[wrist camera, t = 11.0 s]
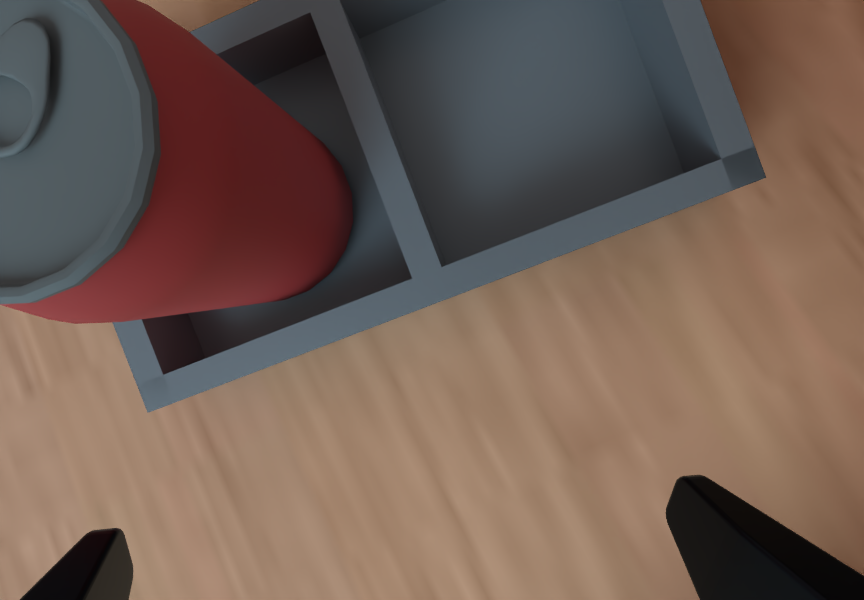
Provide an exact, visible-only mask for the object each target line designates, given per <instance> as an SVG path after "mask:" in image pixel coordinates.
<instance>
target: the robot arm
mask: <svg viewBox="0 0 864 600" xmlns="http://www.w3.org/2000/svg"><path fill="white" fill-rule="evenodd" d="M666 519H667V523H668V525H669V528H670V530H671V533H672V535H673V537H674V540H675V542H676V544H677V547H678V549H679V551H680V554H681V556H682V559H683V561H684V563H685V566H686V568H687V570H688V573H689V575H690V577H691V580H692V582H693V585H694V587H695V589H696V592H697V594H698V596H699V598H700V600H864V576H863V575H862V574H860V573H858V572H857V571H855V570H854V569H852V568H850V567H849V566H847V565H846V564H844V563H842V562H841V561H839V560H838V559H836V558H835V557H833V556H831V555H830V554H828V553H827V552H825V551H823V550H822V549H820V548H819V547H817V546H815V545H814V544H812V543H811V542H809V541H807V540H806V539H804V538H803V537H801V536H799V535H798V534H796V533H795V532H793V531H791V530H790V529H788V528H787V527H785V526H784V525H782V524H780V523H779V522H777V521H776V520H774V519H772V518H771V517H769V516H768V515H766V514H764V513H763V512H761V511H760V510H758V509H756V508H755V507H753V506H752V505H750V504H748V503H747V502H745V501H744V500H742V499H740V498H739V497H737V496H736V495H734V494H733V493H731V492H729V491H728V490H726V489H725V488H723V487H721V486H720V485H718V484H717V483H715V482H713V481H712V480H710V479H709V478H707V477H705V476H702V475H691V476H682V477H680V478H679V479H678V480H677V481H676V483H675V486H674V488H673V491H672V494H671V497H670V499H669V502H668V505H667V508H666ZM132 580H133V564H132V560H131V556H130V553H129V549H128V546H127V542H126V539H125V535H124V533H123V531H122V530H121V529H119V528H112V529H101V530H93V531H91V532H89V533H87V534H86V535H85V536H83V537H82V538H81V539H80V540H79V541H78V542H77V543H76V544H75V545H74V546H73V547H72V548H71V549H70V550H69V551H68V552H67V553H66V554H65V555H64V556H63V557H62V558H61V559H60V560H59V561H58V562H57V563H56V564H55V565H54V566H53V567H52V568H51V569H50V570H49V571H48V572H47V573H46V574H45V575H44V576H43V577H42V578H41V579H40V580H39V581H38V582H37V583H36V584H35V585H34V586H33V587H32V588H31V589H30V590H29V591H28V592H27V593H26V594H25V595H24V596H23V597H22V598H21V599H20V600H129V595H130V590H131V585H132Z"/></svg>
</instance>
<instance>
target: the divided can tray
mask: <svg viewBox="0 0 864 600" xmlns="http://www.w3.org/2000/svg"><path fill="white" fill-rule="evenodd" d="M190 33H191V34H192V35H194V36H195V37H196V38H197V39H198V40H200V41H201V42H202V43H203V44H204V45H206V46H207V47H208V48H209V49H210V50H212V51H213V52H214V53H215V54H216V55H218V56H219V57H220V58H221V59H223V60H224V61H225V62H226V63H227V64H229V65H230V66H231V67H232V68H233V69H235V70H236V71H237V72H238V73H239V74H241V75H242V76H243V77H244V78H245V79H247V80H248V81H249V82H250V83H252V84H253V85H254V86H255V87H256V88H258V89H259V90H260V91H261V92H262V93H264V94H265V95H266V96H267V97H268V98H270V99H271V100H272V101H273V102H274V103H276V104H277V105H278V106H279V107H281V108H282V109H283V110H284V111H285V112H287V113H288V114H289V115H290V116H291V117H293V118H294V119H295V120H296V121H297V122H299V123H300V124H301V125H302V126H303V127H305V128H306V129H307V130H308V131H310V132H311V133H312V134H313V135H314V136H316V137H317V138H318V139H319V140H320V141H322V142H323V143H324V144H325V145H326V147H327V148H328V149H329V150H330V152H331V153H332V154H333V155H334V157H335V158H336V159H337V161H338V162H339V163H340V164H341V166H342V168H343V171H344V173H345V176H346V179H347V181H348V184H349V187H350V189H351V192H352V208H353V224H352V228H351V232H350V235H349V239H348V243H347V247H346V250H345V251H344V253H343V254H342V256H341V258H340V259H339V261H338V262H337V264H336V265H335V267H334V269H333V270H332V272H331V273H330V274H329V275H328V276H326V277H325V278H324V279H323V280H321V281H320V282H319V283H318V284H317V285H315V286H314V287H313V288H312V289H310V290H309V291H306V292H304V293H301V294H299V295H296V296H293V297H291V298H288V299H285V300H281V301H274V302H266V303H259V304H251V305H244V306H237V307H229V308H222V309H214V310H207V311H199V312H192V313H185V314H177V315H170V316H162V317H155V318H147V319H140V320H133V321H125V322H113V325H114V327H115V330H116V332H117V335H118V338H119V340H120V343H121V345H122V348H123V350H124V353H125V355H126V358H127V361H128V363H129V366H130V368H131V371H132V373H133V376H134V378H135V381H136V384H137V386H138V389H139V391H140V394H141V396H142V399H143V401H144V404H145V407H146V409H147V412H151V411H154V410H156V409H159V408H161V407H164V406H167V405H169V404H172V403H175V402H177V401H180V400H182V399H185V398H188V397H190V396H193V395H196V394H198V393H201V392H204V391H206V390H209V389H211V388H214V387H217V386H219V385H222V384H225V383H227V382H230V381H232V380H235V379H238V378H240V377H243V376H246V375H248V374H251V373H253V372H256V371H259V370H261V369H264V368H267V367H269V366H272V365H274V364H277V363H280V362H282V361H285V360H288V359H290V358H293V357H296V356H298V355H301V354H303V353H306V352H309V351H311V350H314V349H317V348H319V347H322V346H324V345H327V344H330V343H332V342H335V341H338V340H340V339H343V338H345V337H348V336H351V335H353V334H356V333H359V332H361V331H364V330H367V329H369V328H372V327H374V326H377V325H380V324H382V323H385V322H388V321H390V320H393V319H395V318H398V317H401V316H403V315H406V314H409V313H411V312H414V311H416V310H419V309H422V308H424V307H427V306H430V305H432V304H435V303H437V302H440V301H443V300H445V299H448V298H451V297H453V296H456V295H459V294H461V293H464V292H466V291H469V290H472V289H474V288H477V287H480V286H482V285H485V284H487V283H490V282H493V281H495V280H498V279H501V278H503V277H506V276H508V275H511V274H514V273H516V272H519V271H522V270H524V269H527V268H530V267H532V266H535V265H537V264H540V263H543V262H545V261H548V260H551V259H553V258H556V257H558V256H561V255H564V254H566V253H569V252H572V251H574V250H577V249H579V248H582V247H585V246H587V245H590V244H593V243H595V242H598V241H601V240H603V239H606V238H608V237H611V236H614V235H616V234H619V233H622V232H624V231H627V230H629V229H632V228H635V227H637V226H640V225H643V224H645V223H648V222H650V221H653V220H656V219H658V218H661V217H664V216H666V215H669V214H671V213H674V212H677V211H679V210H682V209H685V208H687V207H690V206H693V205H695V204H698V203H700V202H703V201H706V200H708V199H711V198H714V197H716V196H719V195H721V194H724V193H727V192H729V191H732V190H735V189H737V188H740V187H742V186H745V185H748V184H750V183H753V182H756V181H758V180H761V179H764V178H766V176H765V173H764V170H763V168H762V165H761V162H760V160H759V157H758V154H757V151H756V149H755V146H754V143H753V141H752V138H751V135H750V133H749V130H748V127H747V125H746V122H745V119H744V117H743V114H742V111H741V109H740V106H739V103H738V101H737V98H736V95H735V93H734V90H733V87H732V84H731V82H730V79H729V76H728V74H727V71H726V68H725V66H724V63H723V60H722V58H721V55H720V52H719V50H718V47H717V44H716V42H715V39H714V36H713V34H712V31H711V28H710V25H709V23H708V20H707V17H706V15H705V12H704V9H703V7H702V4H701V1H700V0H259V1H257V2H255V3H253V4H250V5H248V6H246V7H244V8H242V9H239V10H237V11H235V12H233V13H231V14H229V15H226V16H224V17H222V18H220V19H218V20H215V21H213V22H211V23H209V24H207V25H204V26H202V27H200V28H198V29H196V30H193V31H191V32H190Z"/></svg>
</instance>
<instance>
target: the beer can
mask: <svg viewBox="0 0 864 600" xmlns="http://www.w3.org/2000/svg"><path fill="white" fill-rule="evenodd" d="M352 224H353V208H352V192H351V189H350V187H349V184H348V181H347V179H346V176H345V173H344V171H343V168H342V166H341V164H340V163H339V162H338V161H337V159H336V158H335V157H334V155H333V154H332V153H331V152H330V150H329V149H328V148H327V147H326V145H325V144H324V143H323V142H322V141H320V140H319V139H318V138H317V137H316V136H314V135H313V134H312V133H311V132H310V131H308V130H307V129H306V128H305V127H303V126H302V125H301V124H300V123H299V122H297V121H296V120H295V119H294V118H293V117H291V116H290V115H289V114H288V113H287V112H285V111H284V110H283V109H282V108H281V107H279V106H278V105H277V104H276V103H274V102H273V101H272V100H271V99H270V98H268V97H267V96H266V95H265V94H264V93H262V92H261V91H260V90H259V89H258V88H256V87H255V86H254V85H253V84H252V83H250V82H249V81H248V80H247V79H245V78H244V77H243V76H242V75H241V74H239V73H238V72H237V71H236V70H235V69H233V68H232V67H231V66H230V65H229V64H227V63H226V62H225V61H224V60H223V59H221V58H220V57H219V56H218V55H216V54H215V53H214V52H213V51H212V50H210V49H209V48H208V47H207V46H206V45H204V44H203V43H202V42H201V41H200V40H198V39H197V38H196V37H195V36H194V35H192V34H191V33H190V32H188V31H187V30H185V29H184V28H182V27H181V26H179V25H177V24H176V23H174V22H173V21H171V20H170V19H168V18H167V17H165V16H164V15H162V14H161V13H159V12H158V11H156V10H155V9H153V8H152V7H150V6H149V5H146V4H144V3H142V2H139V1H137V0H0V305H3V306H6V307H10V308H13V309H16V310H20V311H23V312H26V313H29V314H33V315H36V316H39V317H43V318H46V319H50V320H56V321H62V322H68V323H74V324H78V323H105V322H125V321H133V320H140V319H147V318H155V317H162V316H170V315H177V314H185V313H192V312H199V311H207V310H214V309H222V308H229V307H237V306H244V305H251V304H259V303H266V302H274V301H281V300H285V299H288V298H291V297H293V296H296V295H299V294H301V293H304V292H306V291H309V290H310V289H312V288H313V287H314V286H315V285H317V284H318V283H319V282H320V281H321V280H323V279H324V278H325V277H326V276H328V275H329V274H330V273H331V272H332V270H333V269H334V267H335V265H336V264H337V262H338V261H339V259H340V258H341V256H342V254H343V253H344V251H345V250H346V247H347V243H348V239H349V235H350V232H351V228H352Z"/></svg>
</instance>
